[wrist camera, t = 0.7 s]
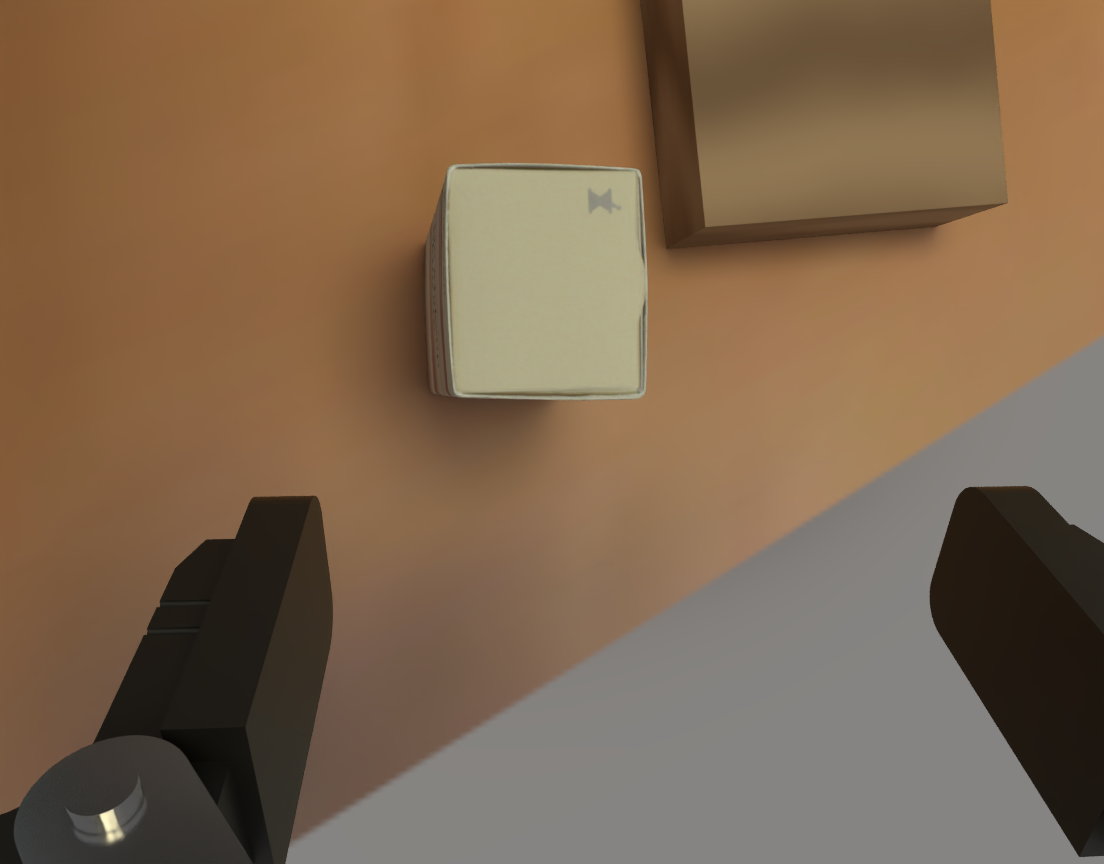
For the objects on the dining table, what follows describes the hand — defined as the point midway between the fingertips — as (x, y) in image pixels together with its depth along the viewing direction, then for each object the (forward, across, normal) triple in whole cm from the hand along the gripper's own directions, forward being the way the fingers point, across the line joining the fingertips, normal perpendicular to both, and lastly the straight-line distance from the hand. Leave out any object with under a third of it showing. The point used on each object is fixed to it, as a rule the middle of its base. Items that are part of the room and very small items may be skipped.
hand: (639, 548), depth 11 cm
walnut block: (+23, -8, -2) cm, 24 cm away
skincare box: (+18, +2, +5) cm, 19 cm away
